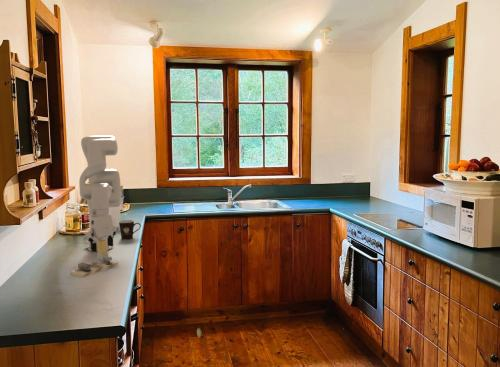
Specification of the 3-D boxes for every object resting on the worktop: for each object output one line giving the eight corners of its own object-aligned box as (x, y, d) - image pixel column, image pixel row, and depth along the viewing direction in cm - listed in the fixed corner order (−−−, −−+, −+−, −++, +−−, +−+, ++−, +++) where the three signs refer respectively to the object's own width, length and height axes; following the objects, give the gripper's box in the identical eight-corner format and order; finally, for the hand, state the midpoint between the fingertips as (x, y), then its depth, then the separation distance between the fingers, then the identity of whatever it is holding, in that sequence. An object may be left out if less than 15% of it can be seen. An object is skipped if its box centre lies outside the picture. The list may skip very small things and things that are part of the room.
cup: (103, 227, 295) (102, 199, 293) (119, 224, 302) (118, 198, 299) (109, 229, 287) (108, 201, 285) (125, 227, 293) (124, 200, 291)
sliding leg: (107, 264, 207) (106, 242, 206) (97, 262, 211) (96, 240, 210) (112, 262, 210) (112, 241, 209) (102, 260, 214) (101, 239, 212)
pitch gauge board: (82, 277, 195) (82, 267, 195) (70, 274, 199) (69, 265, 199) (118, 265, 212) (117, 256, 212) (106, 262, 216) (105, 254, 216)
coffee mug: (116, 239, 262) (115, 222, 260) (124, 236, 270) (123, 219, 269) (135, 240, 259) (134, 223, 258) (142, 237, 267) (141, 220, 266)
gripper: (90, 216, 199) (92, 254, 201) (120, 210, 214) (122, 245, 216) (79, 214, 203) (81, 251, 205) (109, 208, 218) (111, 243, 220)
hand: (102, 248), depth 211 cm, fingers open, 9 cm apart
